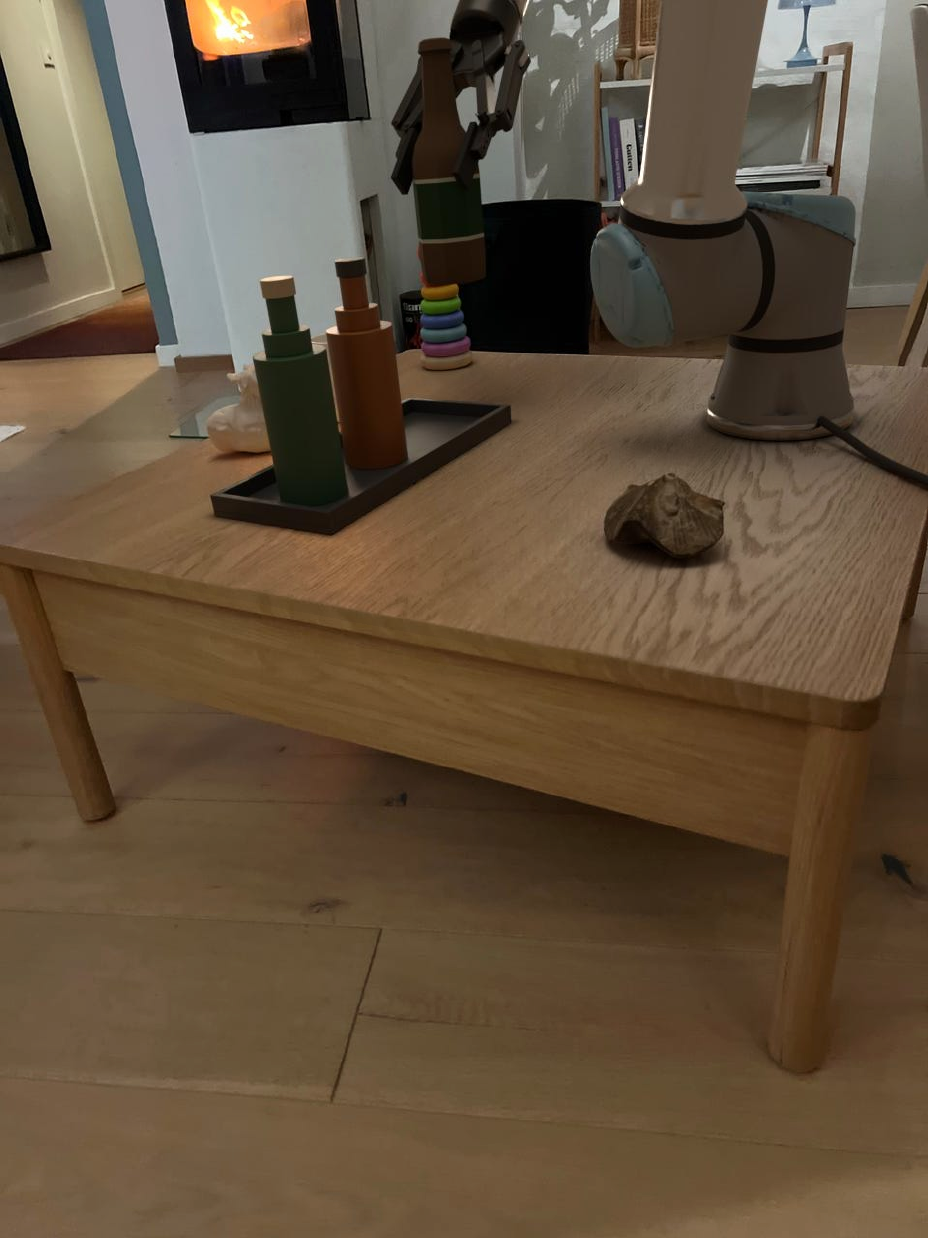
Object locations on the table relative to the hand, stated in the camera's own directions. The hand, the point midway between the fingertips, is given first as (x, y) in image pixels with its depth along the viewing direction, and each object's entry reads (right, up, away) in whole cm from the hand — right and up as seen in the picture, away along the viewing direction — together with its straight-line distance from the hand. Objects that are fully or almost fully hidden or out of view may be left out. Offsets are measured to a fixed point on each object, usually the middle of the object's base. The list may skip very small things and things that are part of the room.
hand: (429, 183), depth 99 cm
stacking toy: (+1, -9, +40) cm, 41 cm away
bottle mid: (-6, -30, 0) cm, 31 cm away
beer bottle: (+3, -8, +8) cm, 11 cm away
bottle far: (-11, -35, -8) cm, 38 cm away
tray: (-6, -31, 0) cm, 31 cm away
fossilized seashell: (+20, -42, -24) cm, 52 cm away
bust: (-20, -27, +9) cm, 35 cm away
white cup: (-11, -21, +19) cm, 30 cm away
